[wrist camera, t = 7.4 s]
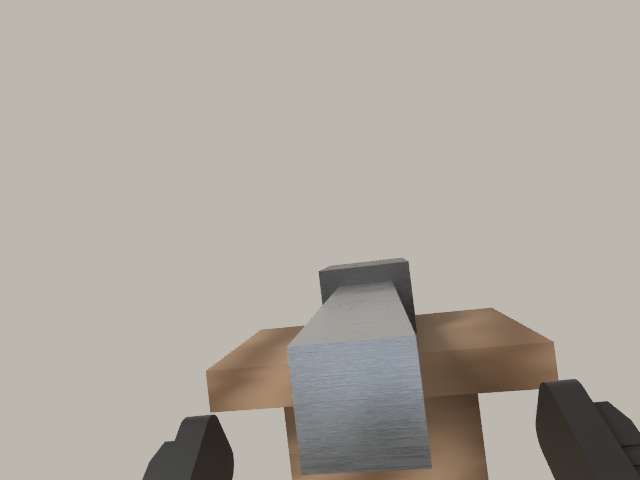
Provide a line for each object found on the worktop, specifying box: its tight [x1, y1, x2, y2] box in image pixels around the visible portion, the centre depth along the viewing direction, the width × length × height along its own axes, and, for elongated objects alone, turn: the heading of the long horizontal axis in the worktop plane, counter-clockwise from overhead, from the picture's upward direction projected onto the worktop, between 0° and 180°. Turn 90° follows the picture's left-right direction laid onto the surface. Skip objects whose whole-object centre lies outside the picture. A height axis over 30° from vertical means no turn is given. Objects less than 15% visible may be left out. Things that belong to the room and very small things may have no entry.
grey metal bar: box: [287, 258, 432, 475], centre depth 20 cm, size 5×20×4 cm, turn 172°
